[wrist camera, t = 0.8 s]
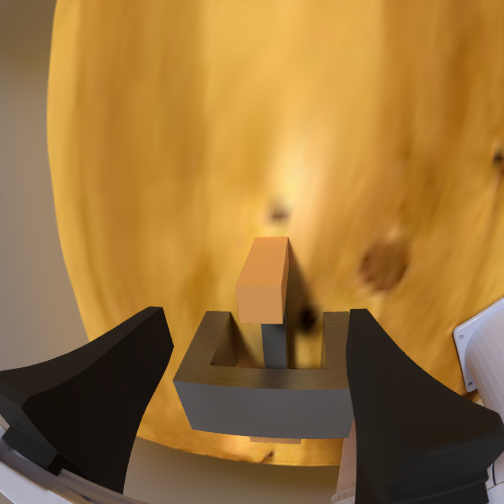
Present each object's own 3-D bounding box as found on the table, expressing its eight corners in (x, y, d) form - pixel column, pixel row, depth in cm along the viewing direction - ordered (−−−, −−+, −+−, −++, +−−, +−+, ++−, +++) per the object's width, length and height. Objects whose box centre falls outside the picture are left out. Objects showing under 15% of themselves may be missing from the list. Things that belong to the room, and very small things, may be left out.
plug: (303, 402, 24) (299, 459, 19) (258, 401, 25) (247, 456, 20) (304, 236, 18) (304, 286, 13) (239, 237, 19) (213, 286, 14)
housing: (342, 363, 22) (348, 437, 15) (217, 361, 24) (192, 429, 17) (348, 311, 20) (361, 388, 14) (206, 311, 22) (172, 380, 15)
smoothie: (322, 406, 24) (315, 551, 12) (391, 385, 22) (413, 535, 10) (342, 438, 26) (340, 558, 13) (401, 420, 24) (418, 543, 11)
